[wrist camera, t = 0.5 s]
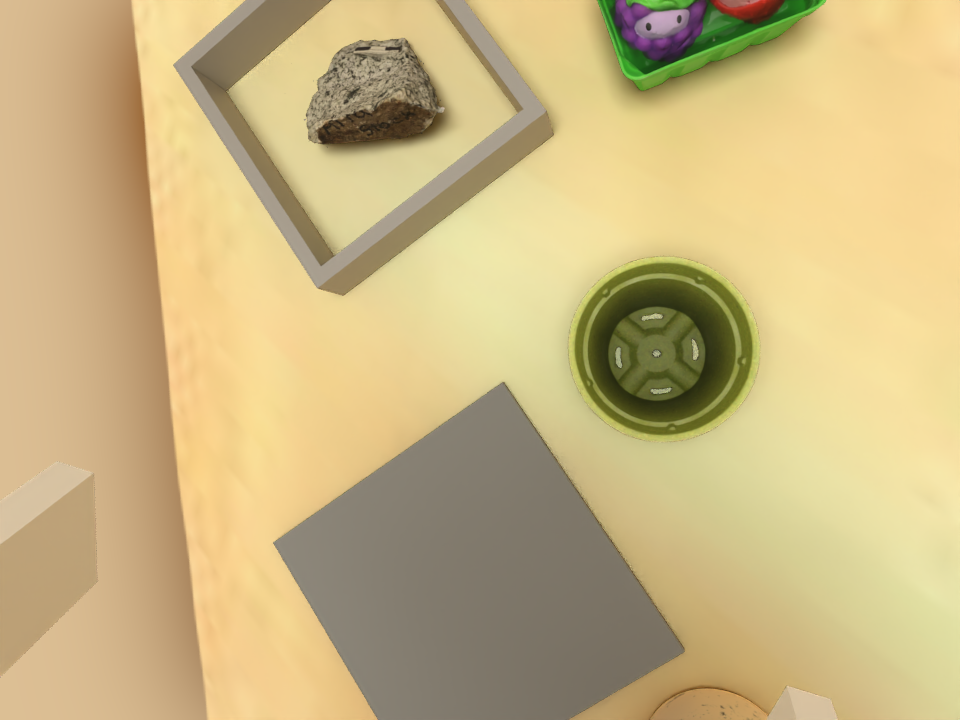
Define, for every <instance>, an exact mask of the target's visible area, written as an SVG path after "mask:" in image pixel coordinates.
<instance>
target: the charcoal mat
mask: <svg viewBox="0 0 960 720" xmlns="http://www.w3.org/2000/svg"><path fill="white" fill-rule="evenodd" d="M274 545H275V547H276V549H277V550H278V552H279V554H280V555H281V557H282V559H283V560H284V562H285V564H286V565H287V567H288V569H289V570H290V572H291V574H292V576H293V577H294V579H295V581H296V582H297V584H298V586H299V587H300V589H301V591H302V592H303V594H304V596H305V597H306V599H307V601H308V603H309V604H310V606H311V608H312V609H313V611H314V613H315V614H316V616H317V618H318V619H319V621H320V623H321V624H322V626H323V628H324V629H325V631H326V633H327V635H328V636H329V638H330V640H331V641H332V643H333V645H334V646H335V648H336V650H337V651H338V653H339V655H340V656H341V658H342V660H343V662H344V663H345V665H346V667H347V668H348V670H349V672H350V673H351V675H352V677H353V678H354V680H355V682H356V683H357V685H358V687H359V688H360V690H361V692H362V694H363V695H364V697H365V699H366V700H367V702H368V704H369V705H370V707H371V709H372V710H373V712H374V714H375V715H376V717H377V719H378V720H569V719H570V718H572V717H574V716H575V715H577V714H579V713H581V712H582V711H584V710H586V709H587V708H589V707H591V706H593V705H594V704H596V703H598V702H599V701H601V700H603V699H605V698H606V697H608V696H610V695H611V694H613V693H615V692H617V691H618V690H620V689H622V688H623V687H625V686H627V685H629V684H630V683H632V682H634V681H635V680H637V679H639V678H641V677H642V676H644V675H646V674H647V673H649V672H651V671H653V670H654V669H656V668H658V667H659V666H661V665H663V664H665V663H666V662H668V661H670V660H671V659H673V658H675V657H677V656H678V655H680V654H682V653H683V652H685V650H684V648H683V646H682V645H681V643H680V642H679V640H678V639H677V637H676V636H675V634H674V633H673V631H672V630H671V628H670V627H669V625H668V624H667V622H666V621H665V620H664V618H663V617H662V615H661V614H660V612H659V611H658V609H657V608H656V606H655V605H654V603H653V602H652V600H651V599H650V597H649V596H648V594H647V593H646V591H645V590H644V589H643V587H642V586H641V584H640V583H639V581H638V580H637V578H636V577H635V575H634V574H633V572H632V571H631V569H630V568H629V566H628V565H627V563H626V562H625V560H624V559H623V558H622V556H621V555H620V553H619V552H618V550H617V549H616V547H615V546H614V544H613V543H612V541H611V540H610V538H609V537H608V535H607V534H606V532H605V531H604V529H603V528H602V527H601V525H600V524H599V522H598V521H597V519H596V518H595V516H594V515H593V513H592V512H591V510H590V509H589V507H588V506H587V504H586V503H585V501H584V500H583V498H582V497H581V496H580V494H579V493H578V491H577V490H576V488H575V487H574V485H573V484H572V482H571V481H570V479H569V478H568V476H567V475H566V473H565V472H564V470H563V469H562V467H561V466H560V465H559V463H558V462H557V460H556V459H555V457H554V456H553V454H552V453H551V451H550V450H549V448H548V447H547V445H546V444H545V442H544V441H543V439H542V438H541V436H540V435H539V434H538V432H537V431H536V429H535V428H534V426H533V425H532V423H531V422H530V420H529V419H528V417H527V416H526V414H525V413H524V411H523V410H522V408H521V407H520V405H519V404H518V403H517V401H516V400H515V398H514V397H513V395H512V394H511V392H510V391H509V389H508V388H507V386H506V385H505V383H504V382H502V383H501V384H500V385H498V386H497V387H495V388H494V389H492V390H491V391H490V392H488V393H487V394H485V395H484V396H482V397H481V398H480V399H478V400H477V401H475V402H474V403H472V404H471V405H469V406H468V407H467V408H465V409H464V410H462V411H461V412H459V413H458V414H457V415H455V416H454V417H452V418H451V419H449V420H448V421H447V422H445V423H444V424H442V425H441V426H439V427H438V428H437V429H435V430H434V431H432V432H431V433H429V434H428V435H427V436H425V437H424V438H422V439H421V440H419V441H418V442H417V443H415V444H414V445H412V446H411V447H409V448H408V449H407V450H405V451H404V452H402V453H401V454H399V455H398V456H397V457H395V458H394V459H392V460H391V461H389V462H388V463H387V464H385V465H384V466H382V467H381V468H379V469H378V470H377V471H375V472H374V473H372V474H371V475H369V476H368V477H366V478H365V479H364V480H362V481H361V482H359V483H358V484H356V485H355V486H354V487H352V488H351V489H349V490H348V491H346V492H345V493H344V494H342V495H341V496H339V497H338V498H336V499H335V500H334V501H332V502H331V503H329V504H328V505H326V506H325V507H324V508H322V509H321V510H319V511H318V512H316V513H315V514H314V515H312V516H311V517H309V518H308V519H306V520H305V521H304V522H302V523H301V524H299V525H298V526H296V527H295V528H294V529H292V530H291V531H289V532H288V533H286V534H285V535H284V536H282V537H281V538H279V539H278V540H276V541H275V542H274Z"/></svg>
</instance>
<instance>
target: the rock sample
mask: <svg viewBox="0 0 960 720" xmlns="http://www.w3.org/2000/svg"><path fill="white" fill-rule="evenodd" d="M420 62H421V61H420ZM291 64H292V63H291ZM423 64H424V63H423ZM313 81H314V80H313ZM317 81H318V83H317V85H318V91H317V92H316V94H315V95H314V96H313V97H312V100H311V103H310V107H309V109H308V110H307V114H306V117H307V128H308V139H309V140H310V141H312V142H314V143H318V144H329V143H349V142H357V141H369V140H374V139H385V138H391V139H393V138H396V139H401V138H404V137H408V136H409V134H410V135H412V134H417V133H421V134H422V132H423V131H424V130H425V129H426V128H427V127H428V126H430V125H431V124H432V121H433V119H434V117H435V114H437V112H439V113H440V112H441V113H443V112H444V109H445V108H444V107H441V108H440V106H438V105H437V104H436V103H437V98H436V97H437V96H436V94H435V90H434V88H433V87H432V85H431V84H430V82H429V81H430V80H429V76H428V74H427V73H425V71H424V70H423V69H422V68H421V66H420V65H419V63H418V61H417V57H416V55H415V53H414V52H413V51H412V50H411V49H410V46H409V44H408V41H407V40H406V39H405V38H401V39H390V40H386V41H376V40H372V41H362V40H360V41H357V42H355V43H353V44H350V45H348V46H346V47H344V48H342V49H341V50H340V51H339V52H337V53H336V54H335V56H334V57H333V59H332V62H331V64H330V66H329V69H328V71H327V73H326V74H325V75H323V76H322V77H320V78H319V79H318V80H317ZM440 101H441V100H440ZM438 103H439V102H438ZM304 120H306V119H304ZM326 147H327V146H326Z"/></svg>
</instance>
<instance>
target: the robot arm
mask: <svg viewBox="0 0 960 720" xmlns="http://www.w3.org/2000/svg"><path fill="white" fill-rule="evenodd" d="M94 488H95V487H94V473H93V472H90V471H87V470H83V469H80V468H77V467H74V466H70V465H67V464H64V463H60V462H55V463H54V464H52V465H51V466H49V467H48V468H46V469H45V470H44V471H42V472H41V473H39V474H38V475H36V476H35V477H34V478H32V479H31V480H29V481H28V482H26V483H25V484H23V485H22V486H21V487H19V488H18V489H16V490H15V491H13V492H12V493H10V494H9V495H8V496H6V497H5V498H4V499H2V500H1V501H0V677H1V676H2V675H3V674H4V673H5V672H6V671H7V670H8V669H9V668H10V667H11V666H12V665H13V664H14V663H15V662H16V661H17V660H18V659H19V658H20V657H21V656H22V655H23V654H25V653H26V651H28V650H29V649H30V647H32V646H33V645H34V643H36V642H37V641H38V640H39V639H40V638H41V637H42V636H43V635H44V634H45V633H46V632H47V631H48V630H49V629H50V628H51V627H52V626H53V625H54V624H55V623H56V622H57V621H58V620H59V619H60V618H61V617H62V616H63V615H64V614H65V613H66V612H67V611H68V610H69V609H70V608H71V607H72V606H73V605H74V604H75V603H76V602H77V601H78V600H79V599H80V598H81V597H82V596H83V595H84V594H85V593H86V592H87V591H88V590H89V589H90V588H92V587H93V586H94V584H96V583H97V553H96V551H97V550H96V518H95V489H94ZM766 720H838V718H837V715H836V712H835V710H834V707H833V704H832V701H831V699H829V698H826V697H822V696H819V695H816V694H813V693H809V692H806V691H803V690H800V689H796V688H793V687H790V686H786V688H785V689H784V691H783V693H782V694H781V696H780V698H779V699H778V701H777V703H776V704H775V706H774V708H773V709H772V711H771V713H770V714H769V716H768V717H767V719H766Z"/></svg>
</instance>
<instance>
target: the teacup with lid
mask: <svg viewBox="0 0 960 720" xmlns="http://www.w3.org/2000/svg"><path fill="white" fill-rule="evenodd" d="M767 717H768V715H767V714H766V713H765V712H764V711H762V710H761V709H760V708H759V707H758V706H756V705H755V704H753V703H752V702H750V701H749V700H747V699H745V698H743V697H741V696H739V695H737V694H734V693H731V692H728V691H724V690H719V689H710V688H704V689H694V690H689V691H686V692H683V693H680V694H678V695H676V696H674V697H672V698H670V699H669V700H667V701H666V702H665V703H663V704H662V705H661V706H660V707H659V708H658V709H657V711H656V712H655V713H654V714H653V716H652V717H651V719H650V720H766V719H767Z"/></svg>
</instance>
